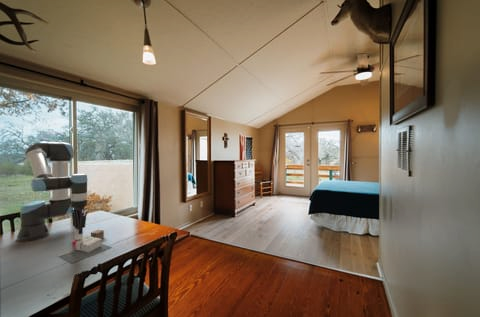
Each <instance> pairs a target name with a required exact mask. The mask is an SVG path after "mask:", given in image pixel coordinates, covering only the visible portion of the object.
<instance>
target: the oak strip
mask: <svg viewBox="0 0 480 317" xmlns="http://www.w3.org/2000/svg"><path fill="white" fill-rule="evenodd" d="M74 251H77V250H75V249H72V250H71V251H68V252H65V253H62V254H61V255H62V256H63V255H66V254H69V253H72V252H74Z"/></svg>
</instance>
